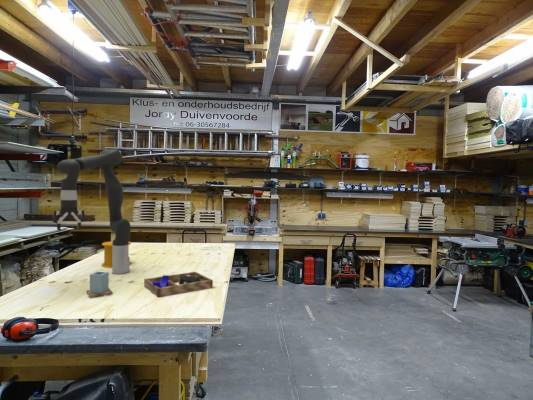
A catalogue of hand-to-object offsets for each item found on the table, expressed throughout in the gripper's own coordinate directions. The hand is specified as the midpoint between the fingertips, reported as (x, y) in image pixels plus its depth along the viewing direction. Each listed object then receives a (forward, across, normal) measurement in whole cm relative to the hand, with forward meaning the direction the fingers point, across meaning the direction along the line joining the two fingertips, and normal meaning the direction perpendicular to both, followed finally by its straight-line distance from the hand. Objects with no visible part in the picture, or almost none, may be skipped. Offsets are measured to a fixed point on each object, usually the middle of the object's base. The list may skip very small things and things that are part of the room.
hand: (69, 230), depth 177 cm
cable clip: (+30, -38, +28) cm, 56 cm away
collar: (+29, -11, +18) cm, 36 cm away
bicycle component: (+31, -56, +29) cm, 70 cm away
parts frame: (+30, -47, +28) cm, 62 cm away
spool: (+30, -33, -43) cm, 62 cm away
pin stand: (+30, -11, +18) cm, 37 cm away
